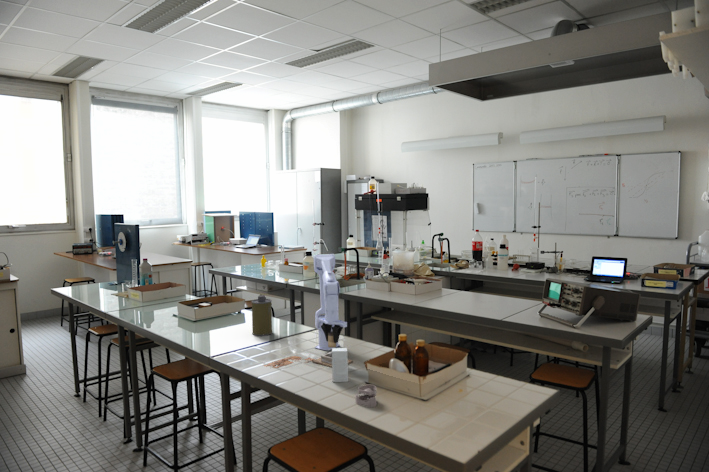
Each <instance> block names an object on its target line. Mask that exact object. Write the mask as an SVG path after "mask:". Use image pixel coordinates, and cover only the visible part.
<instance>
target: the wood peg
mask: <svg viewBox="0 0 709 472" xmlns="http://www.w3.org/2000/svg"><path fill="white" fill-rule="evenodd" d="M328 347H330V348H333V347H336V343H334V338H333V331H331V332H328ZM336 348H337V347H336Z"/></svg>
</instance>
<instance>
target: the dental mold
mask: <svg viewBox="0 0 709 472" xmlns="http://www.w3.org/2000/svg"><path fill="white" fill-rule="evenodd" d="M357 391H358V394H359V395H358V394H355V403H356V404H357V405H358V406H364V407H367V408H375V407H377V405H378V403H377V399H376V396H377V386H376V385H374V384H369V383H368V384H364V385H360V386H358V387H357Z"/></svg>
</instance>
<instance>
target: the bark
mask: <svg viewBox="0 0 709 472" xmlns="http://www.w3.org/2000/svg"><path fill="white" fill-rule="evenodd" d="M302 360H303V361H306V362H304V364H307V363H308V361H310V362H312V361H314V360H316V358H315V359H314V358H311V357H307V358H303V359H302V357H301V356H296V355H292V356H291V355H290V356H289V357H284V358H281V359H278V360H275V361H272V362H269V363H267V364H266V365H264V364H263V365H262V367H263V366H264V367H266V368H267V367H271V369H279V368H282V367H284V366H285V367H286V366H289V365H292V364H294V361H296V362H300V361H302Z"/></svg>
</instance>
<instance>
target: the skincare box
mask: <svg viewBox="0 0 709 472" xmlns="http://www.w3.org/2000/svg"><path fill="white" fill-rule="evenodd" d="M331 352H332V367H331V368H332V369H331V370H332V371H331V372H332V382H333V383H340V382H341V383H343V382H344V383H345V382H347V383H348V382H349V364H348V360H349V359H348V347H336V348H332V349H331Z"/></svg>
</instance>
